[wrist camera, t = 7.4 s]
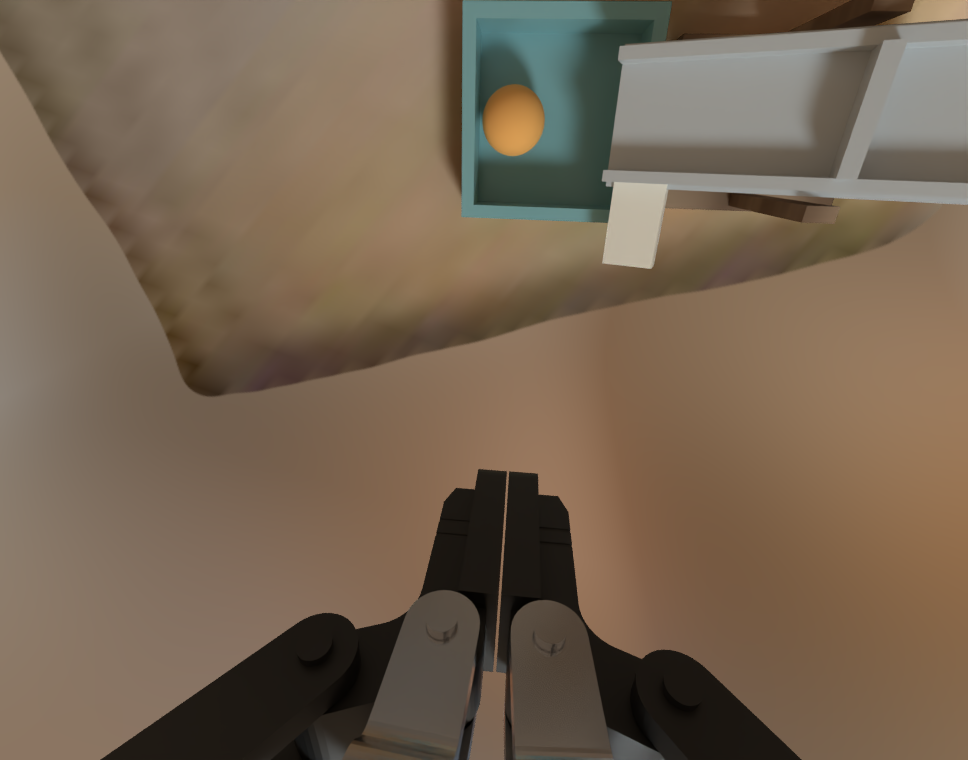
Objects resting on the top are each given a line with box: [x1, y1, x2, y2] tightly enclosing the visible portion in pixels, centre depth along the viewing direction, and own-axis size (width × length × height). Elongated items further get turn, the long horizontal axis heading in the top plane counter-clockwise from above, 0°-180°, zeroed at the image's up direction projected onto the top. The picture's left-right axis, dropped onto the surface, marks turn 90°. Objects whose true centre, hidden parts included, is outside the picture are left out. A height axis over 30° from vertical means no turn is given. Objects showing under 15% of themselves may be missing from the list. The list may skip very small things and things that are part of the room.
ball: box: [482, 84, 545, 156], centre depth 29 cm, size 4×4×4 cm
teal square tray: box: [462, 0, 672, 223], centre depth 29 cm, size 12×12×4 cm
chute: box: [602, 19, 968, 269], centre depth 25 cm, size 17×12×10 cm
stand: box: [665, 0, 914, 224], centre depth 25 cm, size 12×10×10 cm
